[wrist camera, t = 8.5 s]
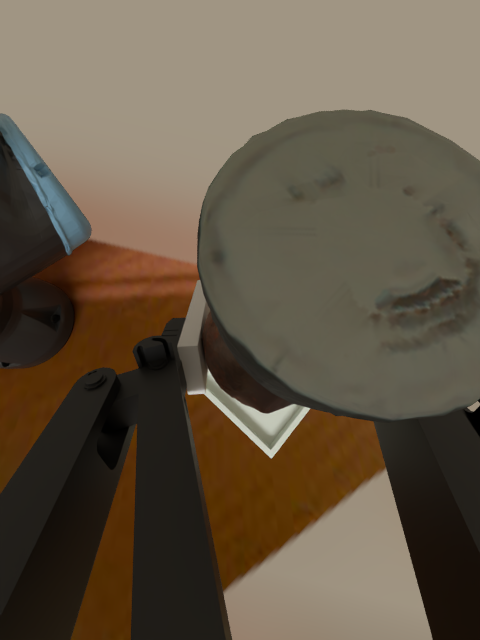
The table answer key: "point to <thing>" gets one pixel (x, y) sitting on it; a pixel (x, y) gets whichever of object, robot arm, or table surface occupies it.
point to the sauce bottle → (344, 269)
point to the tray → (257, 418)
